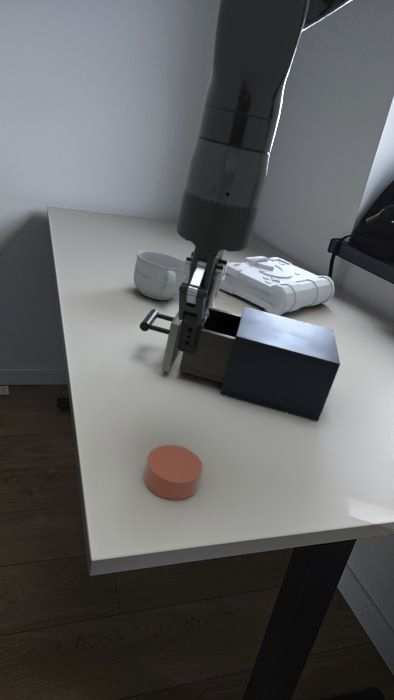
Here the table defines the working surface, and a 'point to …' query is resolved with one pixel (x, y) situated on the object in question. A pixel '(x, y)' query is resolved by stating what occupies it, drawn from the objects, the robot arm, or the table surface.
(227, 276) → the book
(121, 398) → the table surface
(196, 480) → the cylinder
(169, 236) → the table surface
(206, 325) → the drawer
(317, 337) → the cabinet
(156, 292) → the teacup
